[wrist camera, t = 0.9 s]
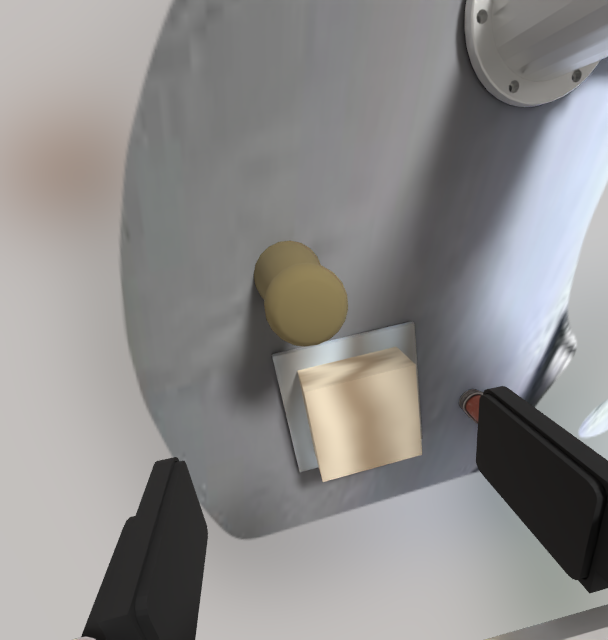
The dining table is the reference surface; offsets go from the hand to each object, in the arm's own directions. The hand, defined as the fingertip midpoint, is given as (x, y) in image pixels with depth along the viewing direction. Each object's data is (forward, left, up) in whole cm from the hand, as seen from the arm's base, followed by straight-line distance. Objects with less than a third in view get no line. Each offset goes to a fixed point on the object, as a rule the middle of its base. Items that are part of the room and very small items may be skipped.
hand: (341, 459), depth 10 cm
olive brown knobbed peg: (-1, -1, -21) cm, 21 cm away
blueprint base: (-5, +13, -21) cm, 25 cm away
